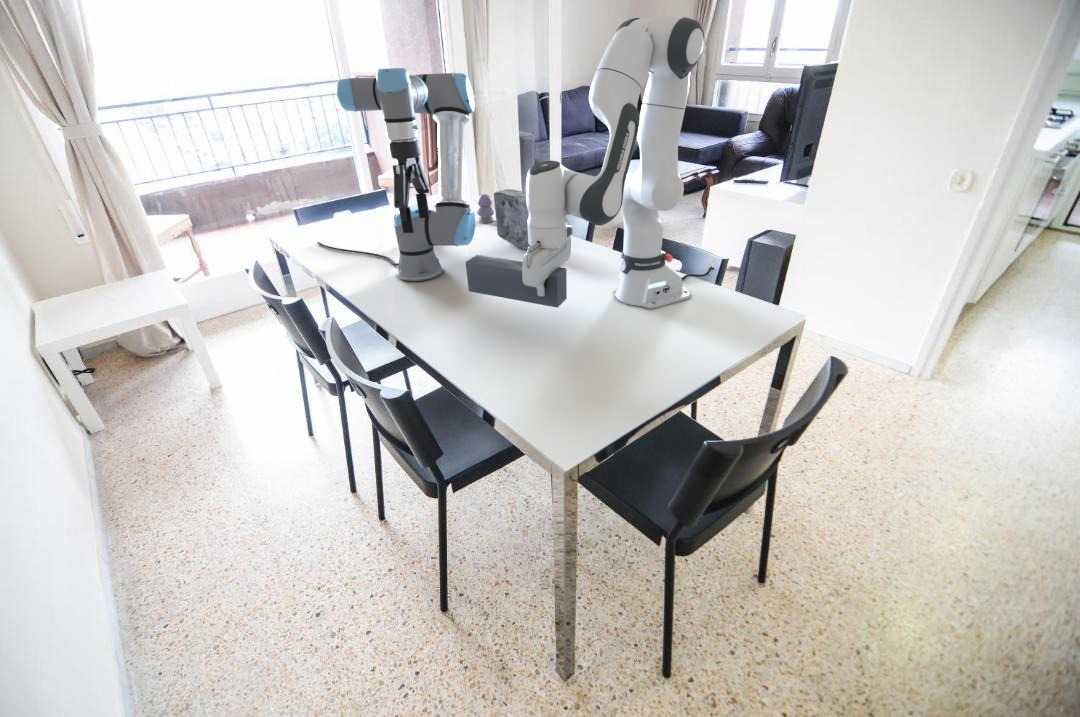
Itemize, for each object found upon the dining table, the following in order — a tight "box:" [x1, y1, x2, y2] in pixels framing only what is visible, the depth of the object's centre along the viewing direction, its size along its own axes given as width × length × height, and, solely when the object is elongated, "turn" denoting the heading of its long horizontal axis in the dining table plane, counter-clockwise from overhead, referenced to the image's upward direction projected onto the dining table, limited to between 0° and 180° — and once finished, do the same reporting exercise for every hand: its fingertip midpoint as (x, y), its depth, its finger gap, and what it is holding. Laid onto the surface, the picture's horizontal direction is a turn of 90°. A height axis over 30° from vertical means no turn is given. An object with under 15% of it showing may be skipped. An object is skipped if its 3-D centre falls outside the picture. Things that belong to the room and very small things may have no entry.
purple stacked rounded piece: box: [476, 193, 495, 224], centre depth 226 cm, size 8×8×12 cm
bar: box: [465, 254, 568, 308], centre depth 127 cm, size 26×6×8 cm, turn 64°
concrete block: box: [493, 188, 530, 251], centre depth 191 cm, size 27×9×20 cm, turn 36°
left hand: (417, 225), depth 134 cm, fingers open, 13 cm apart
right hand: (548, 289), depth 124 cm, fingers closed on bar, 5 cm apart
